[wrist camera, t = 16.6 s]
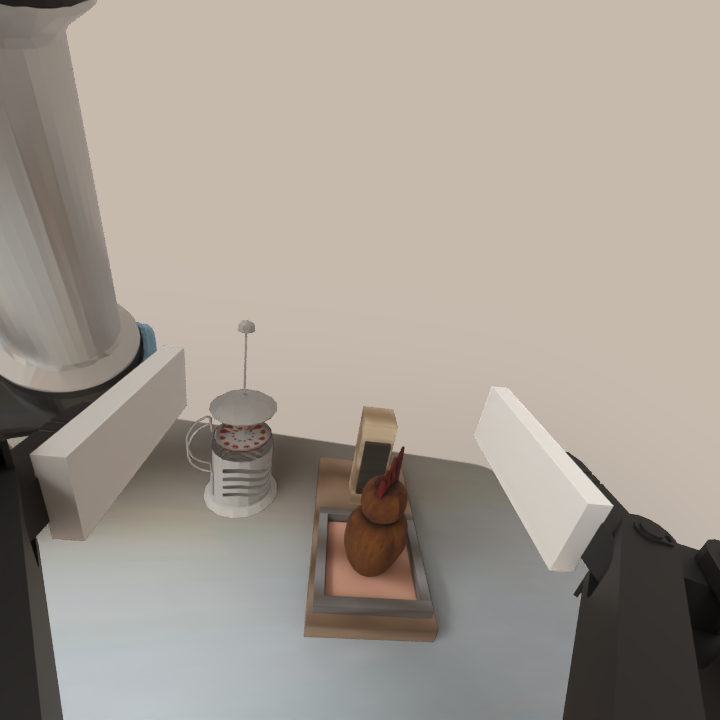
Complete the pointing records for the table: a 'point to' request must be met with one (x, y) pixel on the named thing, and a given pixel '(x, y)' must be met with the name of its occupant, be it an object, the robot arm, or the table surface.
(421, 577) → the wooden tray stand
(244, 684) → the table surface
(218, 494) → the french press
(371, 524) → the wooden figurine
